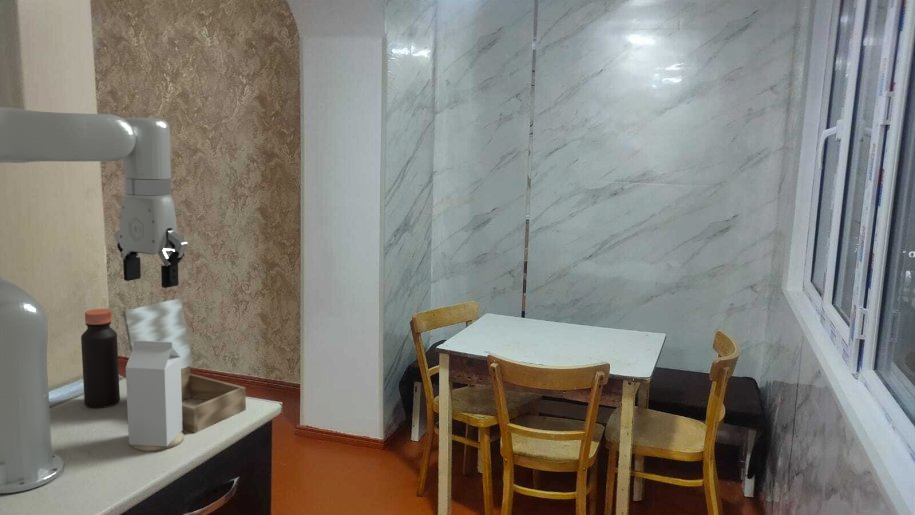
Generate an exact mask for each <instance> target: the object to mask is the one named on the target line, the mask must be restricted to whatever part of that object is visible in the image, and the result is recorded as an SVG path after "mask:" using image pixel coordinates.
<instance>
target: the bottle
mask: <svg viewBox="0 0 915 515" xmlns="http://www.w3.org/2000/svg"><path fill="white" fill-rule="evenodd" d="M84 321H85V326H86V328H87V329H86V330H85V331H84V332H83V333H82V334H81V336H80V344H81V359H82V379H83V398H84V405H85V407H87V408H88V407H89V408H91V409H92V408H94V409H100V408H101V409H102V408H107V407H112V406H114V405H116V404H118V403H119V402H120V400H121V392H120V371H119V351H118V349H119V348H118V333H117V332H116V330H115V329H113V328H112V327H111V324H112V310H110V309H107V308H106V309H105V308H96V309H95V308H94V309H90V310H86V311H85V312H84Z"/></svg>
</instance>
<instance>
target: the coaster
mask: <svg viewBox="0 0 915 515" xmlns="http://www.w3.org/2000/svg"><path fill="white" fill-rule="evenodd" d="M184 435H185V434H184V432H181V433H180V434H179V435H178V436H177V437H176V438H175V439H174V440H173V441H172V442H171V443H170V444H169V445H168V446H146V445H131V447H133V449H135V450H138V451H140V452H141V451H142V452H159V451H165V450H168V449H172V448H174V447H177V446H178V445H180V444H181V443H183V441H184Z"/></svg>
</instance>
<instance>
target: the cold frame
mask: <svg viewBox="0 0 915 515" xmlns="http://www.w3.org/2000/svg"><path fill="white" fill-rule="evenodd" d="M122 314H123V319H124V324H125V331H126V335H127V340H128V345H129V351H130V352H129V353H131V352H132V350H133V347H134V340H139V341H162V342H172V347H173V349H174V350H175V351H176V352H177V353H178V355H179V356H180V359H181V392H182V401H183V400H186V399H189V398H193V399H194V398H195V399H198V400H201V401H204V402H201V403H200V404H197V405H195V406H193V405H189V404H186V403H183V402H182V426H183V430H182V431H186V432H189V433H193V434H195V433H197V432H200V431H202V430H204V429H206V428H209V427H211V426H213V425H216V424H217V423H220V422H222V421H224V420H227V419H228V418H230V417H233V416H235V415H237V414H239V413H241V412H244V411H246V409H247V407H246V406H247V404H246V402H247V401H246V400H247V399H246V398H247V397H246V394H247V393H246V391H247V390H246V387H245V386H242V385H238V384H234V383H230V382H226V381H222V380H218V379H216V378H215V379H214V378H211V377H207V376H204V375H203V376H202V375H198V374H194V373H191V366H193V365H194V364H193V360H192V359H193V358H192V354H191V349H190V348H191V347H190V343H189V342H190V341H189V337H188V331H187V325H186V320H185V314H184V309H183V304H182V299H181V297H180V298H174V299H169V300H165V301H161V302H157V303H153V304H149V305H144V306H140V307H135V308H131V309H127V310H123V311H122Z"/></svg>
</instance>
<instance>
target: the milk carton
mask: <svg viewBox="0 0 915 515" xmlns="http://www.w3.org/2000/svg"><path fill="white" fill-rule="evenodd" d="M125 378H126V380H125V381H126V386H125V387H126V404H127V406H126V408H127V428H128V430H127V431H128V445H131V446H132V445H146V446H168V445H169V444H170V443H171V442H172V441H173V440H174V439H175V438H176V437H177V436H178V435H179V434H180V433H181V432H182V431H184V430H183V426H182V403H183V400H182V392H181V359H180V356H179V355H178V353H177V352H176V351H175V350H174V349H173V347H172V342H162V341H139V340H134V347H133V350H132V352H130V355H129V358H128V360H127V363H126V366H125ZM182 433H183V432H182Z"/></svg>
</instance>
